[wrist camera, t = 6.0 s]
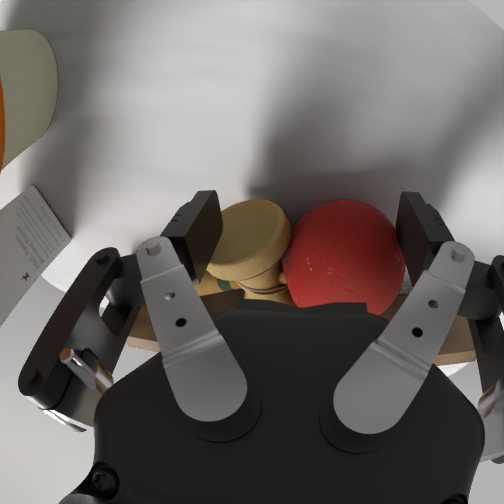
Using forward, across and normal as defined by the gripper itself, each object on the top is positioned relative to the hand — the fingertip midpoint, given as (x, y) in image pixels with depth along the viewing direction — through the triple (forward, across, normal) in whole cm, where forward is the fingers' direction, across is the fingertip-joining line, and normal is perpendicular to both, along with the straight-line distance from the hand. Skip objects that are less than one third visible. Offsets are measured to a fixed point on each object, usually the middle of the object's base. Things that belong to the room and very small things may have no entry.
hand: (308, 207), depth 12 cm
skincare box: (+3, +21, +2) cm, 21 cm away
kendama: (+3, +4, +5) cm, 7 cm away
